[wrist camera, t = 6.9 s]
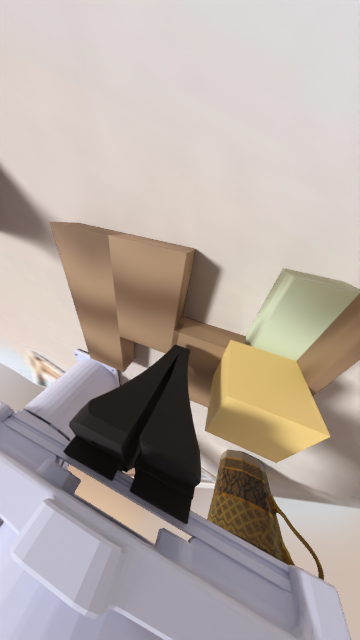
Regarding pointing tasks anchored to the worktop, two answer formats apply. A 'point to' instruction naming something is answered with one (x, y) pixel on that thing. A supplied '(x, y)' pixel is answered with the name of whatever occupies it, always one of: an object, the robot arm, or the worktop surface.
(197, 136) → the worktop surface
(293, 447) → the block
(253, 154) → the worktop surface
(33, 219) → the worktop surface
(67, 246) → the box
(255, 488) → the ceramic cup
